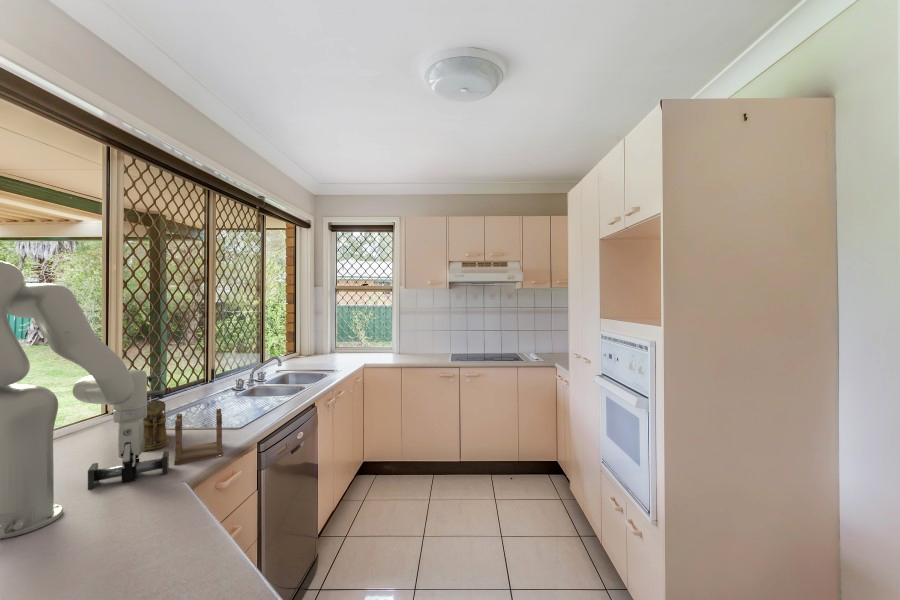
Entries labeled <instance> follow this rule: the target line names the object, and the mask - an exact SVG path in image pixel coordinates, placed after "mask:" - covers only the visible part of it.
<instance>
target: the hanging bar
mask: <svg viewBox="0 0 900 600" xmlns="http://www.w3.org/2000/svg"><path fill="white" fill-rule="evenodd" d="M169 452H170V450H166V451H163V453H162V457H161V458H155V459H150V460H149V459H148V460H144V461H139V462H137V463H135V465H136V471H137V474H141V473H147V472H152V471H156V470H157V471H158V470H162V472H161V473H162V476H167V475H168V473H169V468H170V466H169V465H170V463H169V462H170V461H169V460H170V457H169V456H170V454H169ZM120 477H121V478H122V464H121V465H116V466H110V467H105V468H104V467H103V468H99V463H98V462H95V463H92V464H91V465H90V467H89V468H88V470H87V490H93V489H95V487H96V486H97V484H98V482H99V481H104V480H110V479H114V478H120Z"/></svg>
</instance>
